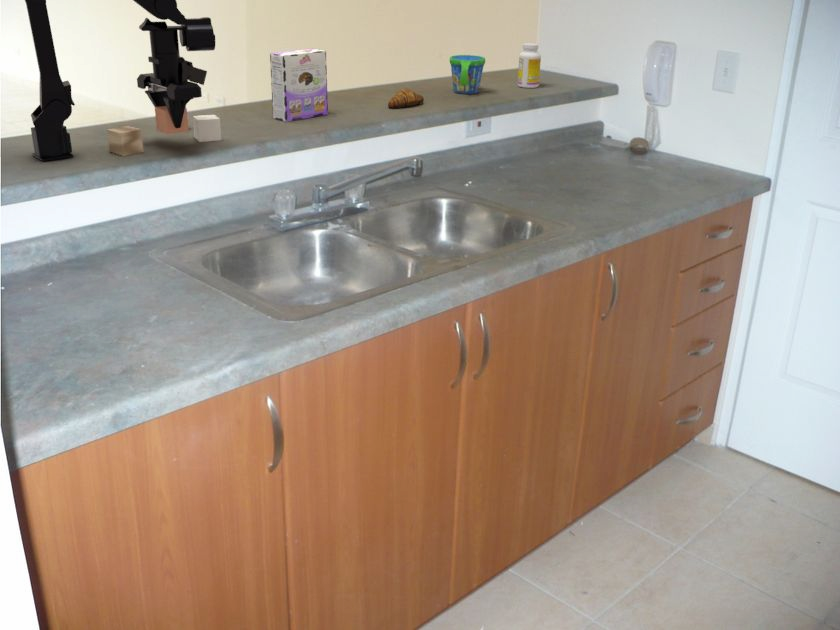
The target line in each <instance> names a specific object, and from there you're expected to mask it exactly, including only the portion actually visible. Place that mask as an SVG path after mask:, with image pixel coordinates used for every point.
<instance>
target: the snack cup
mask: <svg viewBox="0 0 840 630" xmlns="http://www.w3.org/2000/svg"><path fill="white" fill-rule="evenodd" d="M449 63H450V67H451V70H450V71H451V79H452V87H453V91H454V93H457V94H460V95H475V94H477V93H478V92H479V90H480V86H481V81H482V77H483V76H482V74H483V73H484V72H483V70H484V66H485V64H486V58H485V57H484V56H480V55H471V54H457V55H451V56H450V57H449Z"/></svg>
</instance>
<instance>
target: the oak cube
mask: <svg viewBox="0 0 840 630" xmlns="http://www.w3.org/2000/svg"><path fill="white" fill-rule="evenodd" d="M106 130H107V131H106V132H107V137H108V146H109V153H111V152H113V153H112V154H114V153H116V154H115V155H118V154H119V155H118V156H121V155H122V156H121V157H126V155H127V156H132V155H137V154H140V153H141V152H142V153H144V152H145V151H144V142H143V134H142V129H141V128H137V127H133V126H129V125H125V126H119V127H113V128H108V129H106ZM131 154H132V155H131Z"/></svg>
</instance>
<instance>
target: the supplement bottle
mask: <svg viewBox="0 0 840 630" xmlns="http://www.w3.org/2000/svg"><path fill="white" fill-rule="evenodd" d="M522 48H523V51H522V52H520V53H519V56H518V71H517V72H518V74H517V85H518V88H524V89H535V88H538V87H539V85H540V76H541V75H540V74H541V73H540V72H541V61H542V60H541V57H542V55H541V53H540V52H539V51H538V49H539V44H538V43H530V42H529V43H528V42H524V43H523V44H522Z"/></svg>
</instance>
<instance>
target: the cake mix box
mask: <svg viewBox="0 0 840 630" xmlns="http://www.w3.org/2000/svg"><path fill="white" fill-rule="evenodd" d="M269 59H270V60H269V61H270V63H269V64H270V81H271V82H270V83H271V84H270V85H271V103H272V104H271V105H272V106H271V108H272V119H275V120H278V121H281V122H284V123H288V122H293V121H300V120H305V119H310V118H315V117H316V118H317V117H322V116H327V115H329V105H328V104H329V103H328V101H329V100H328V76H327V74H328V72H327V70H328V69H327V51H326V49H325V50H324V49H320V48H319V49H317V48H313V47H312V48H305V49H296V50H287V51H285V50H284V51H279V52H278V51H277V52H270V53H269Z"/></svg>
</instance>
